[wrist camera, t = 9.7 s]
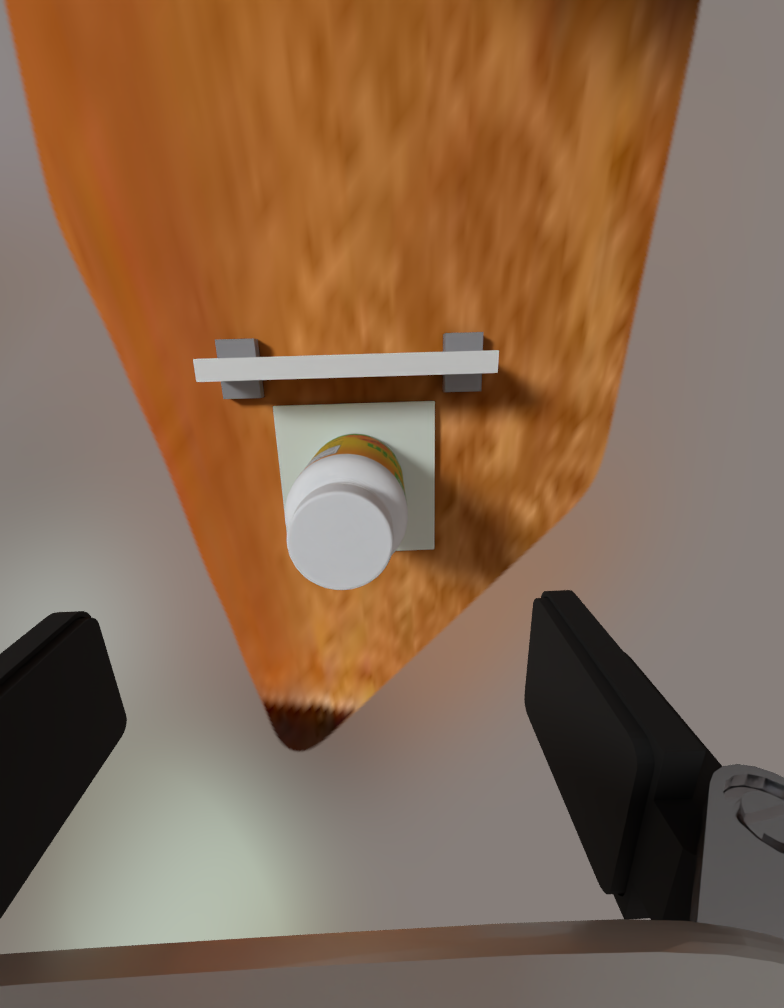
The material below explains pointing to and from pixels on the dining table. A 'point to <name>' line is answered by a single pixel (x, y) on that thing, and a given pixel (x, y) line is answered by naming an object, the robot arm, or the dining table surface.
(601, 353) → the dining table surface
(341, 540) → the supplement bottle
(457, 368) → the low wall
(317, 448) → the mat
